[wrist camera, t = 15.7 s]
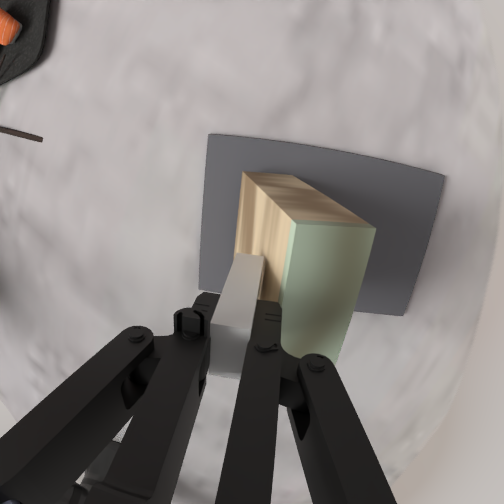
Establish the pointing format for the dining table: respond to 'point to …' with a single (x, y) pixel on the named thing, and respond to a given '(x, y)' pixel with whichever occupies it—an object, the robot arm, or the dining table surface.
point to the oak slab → (304, 258)
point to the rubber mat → (338, 189)
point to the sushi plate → (21, 42)
